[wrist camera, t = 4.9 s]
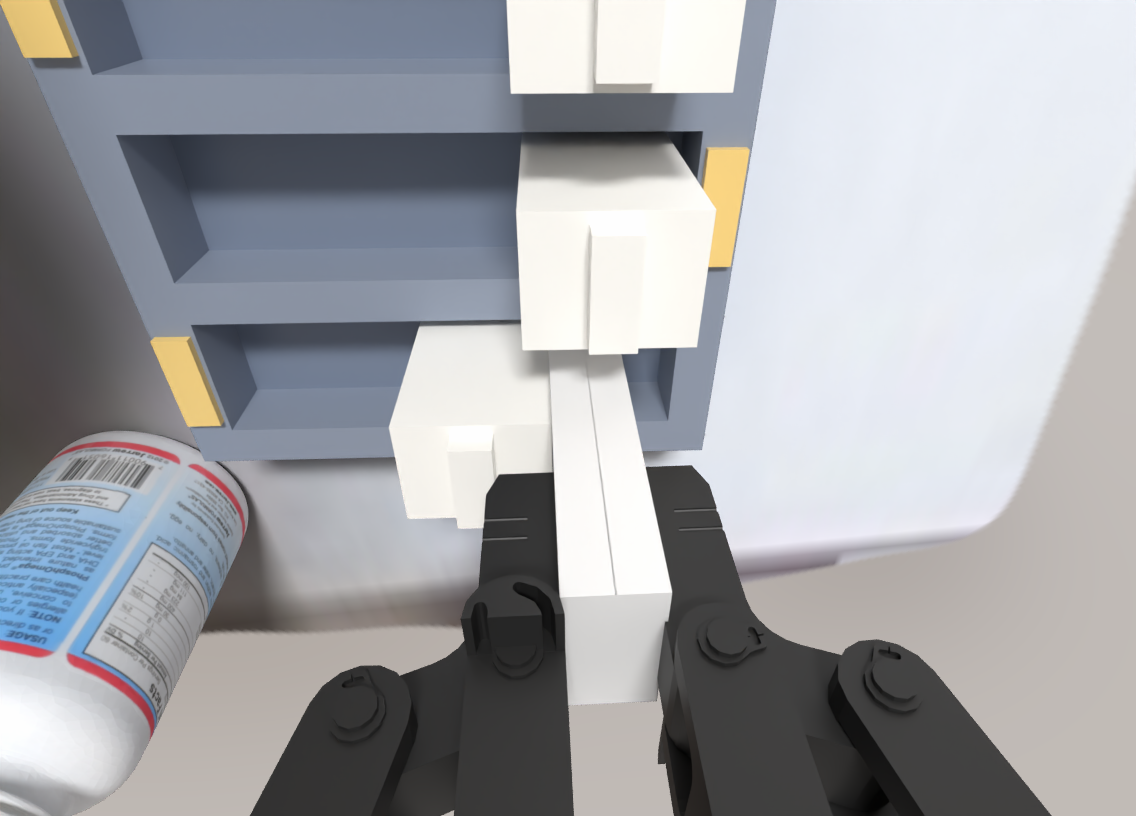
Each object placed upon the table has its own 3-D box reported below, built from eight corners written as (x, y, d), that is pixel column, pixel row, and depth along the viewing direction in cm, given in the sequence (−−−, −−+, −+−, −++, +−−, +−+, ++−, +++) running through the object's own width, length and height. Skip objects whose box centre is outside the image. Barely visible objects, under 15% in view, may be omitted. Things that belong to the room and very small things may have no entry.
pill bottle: (35, 509, 21) (-329, 927, 12) (88, 389, 19) (-330, 813, 10) (216, 577, 24) (21, 969, 15) (286, 480, 21) (99, 887, 12)
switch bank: (246, 394, 19) (201, 466, 16) (30, -207, 11) (-120, -249, 9) (681, 386, 19) (703, 454, 17) (758, -200, 12) (819, -237, 9)
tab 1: (438, 381, 17) (403, 537, 13) (427, 300, 16) (383, 445, 11) (549, 378, 17) (553, 532, 13) (547, 298, 16) (551, 440, 11)
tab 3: (526, 237, 15) (521, 366, 11) (522, 129, 14) (515, 223, 9) (653, 235, 15) (702, 362, 11) (662, 127, 14) (724, 221, 9)
